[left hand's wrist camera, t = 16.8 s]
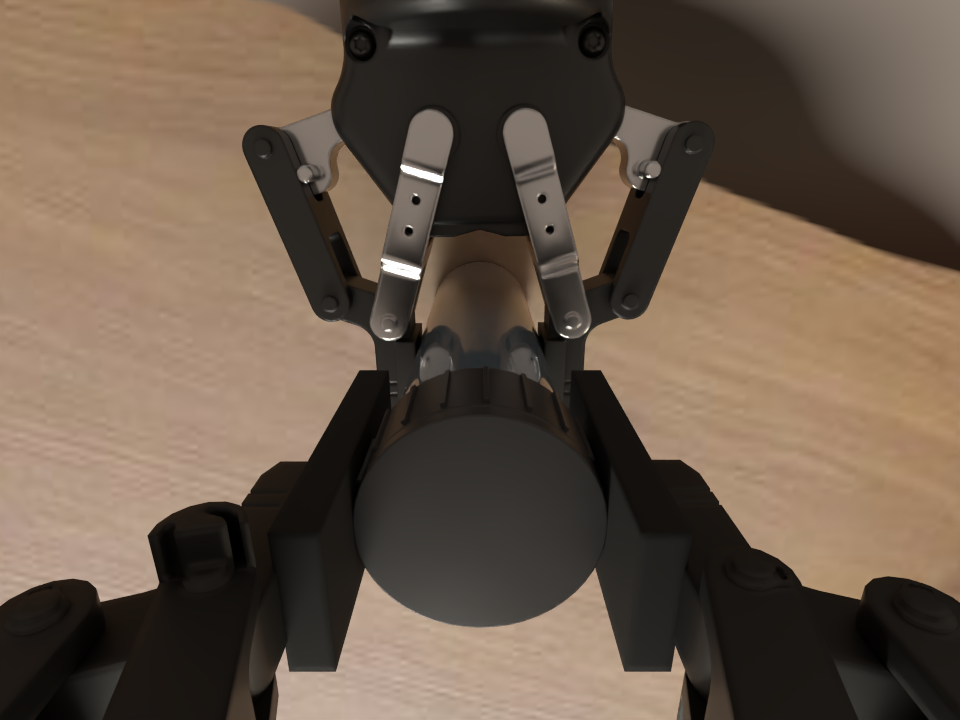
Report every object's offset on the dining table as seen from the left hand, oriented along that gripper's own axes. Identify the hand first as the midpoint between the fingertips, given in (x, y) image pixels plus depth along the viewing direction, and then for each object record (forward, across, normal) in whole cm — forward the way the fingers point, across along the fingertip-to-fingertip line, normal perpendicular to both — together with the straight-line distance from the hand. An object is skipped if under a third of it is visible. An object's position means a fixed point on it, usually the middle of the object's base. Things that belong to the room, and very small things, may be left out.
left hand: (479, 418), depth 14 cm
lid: (-4, 0, 0) cm, 4 cm away
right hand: (+5, 0, -3) cm, 6 cm away
